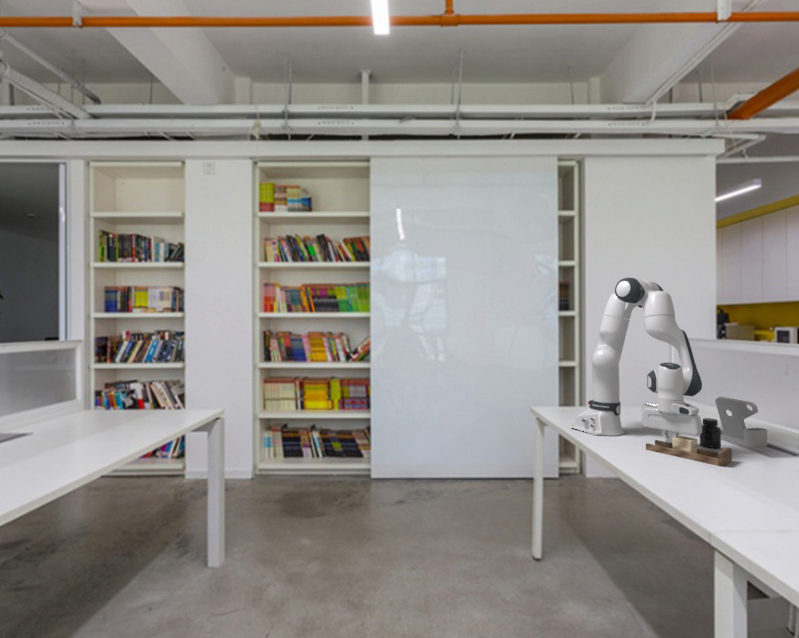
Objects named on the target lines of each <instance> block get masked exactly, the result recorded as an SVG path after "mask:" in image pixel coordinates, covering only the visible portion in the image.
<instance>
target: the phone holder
mask: <svg viewBox="0 0 799 638" xmlns="http://www.w3.org/2000/svg"><path fill="white" fill-rule="evenodd" d="M714 401H715V404H716V408H717V409H716V410H717V412H718V416H719V419H720V424H721V427H722V430H723V433H721V440H722V441H723V440H724V441H727V442H731V443H735V444H738V445H741V444H742V446H745V445H746V447H748V448H749V447H750V448H759V447H758V446H761V447H768V446H767V445H769V444H770V443H768V430H767V429H765V428H763V427H762V428H761V427H752V428H751V427H749V428H747V426H746V423H745V420H746V419H748V418H749V417H752V416H753V415H755V414H757V413H759V409H758V408H759V407H758V406H757V404H755V402H752V401H749V400H743V399H737V398H730V397H726V396H719V397H717V398H716V399H714ZM748 406H750V407H751V409H752V410H751V409H750V408H749V407H748ZM727 411H729V412H730V413H731V415H729V414H728V413H727Z"/></svg>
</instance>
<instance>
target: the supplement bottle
mask: <svg viewBox="0 0 799 638" xmlns="http://www.w3.org/2000/svg"><path fill="white" fill-rule="evenodd" d="M718 425H719V423H718V419H715V418H710V417H709V418H707V417H705V418H702V433H701V434H700V435H699V446H700V447H702V448H704V449H705V448H706V449H709V450H710V449H711V450H721V449H722V444H721V443H722V441H721V440H722V439H721V434H722V432H721V428H720V427H719V426H718Z"/></svg>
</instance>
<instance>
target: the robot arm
mask: <svg viewBox="0 0 799 638" xmlns="http://www.w3.org/2000/svg"><path fill="white" fill-rule="evenodd" d="M636 307H638V308H640V309H641V308H642V309H643V325H644V328H645V329H644V330H645V331H646V333H647V334H648V335H649V336H651V337H652V338H653V339H655V340H658V341H661V342H663V343H666V344H668V345H671V346H672V347H674V348H675V349H676V350H677V352H678V356H679V360H680V364H681V365H680V364H678V363H674V362H661V363H659V364H658V365H657V368H656V369H652V370H651V371H650V372H649V373H648V374H647V375H646V376H647V377H646V379H647V381H646V384H647V385H646V387H647V389H648V390H650V391H651V392H652V393H654V394H657V395H656V403H649V402H646V403H644V404H642V405H641V412H642V413H641V419H640V424H641V426H642V427H644V428H651V429H655V430H656V429H657V430H661V434H662V435H663V437H664V439H665V440H664V442H667V443H672V444H673V438H675V437H677V436H680V435H679V434H683V435H689V436H693V437H698V436H700V434H701V433H702V425H703V422H702V419H701V416H700V415H699V413H700V409H699V408H698V407H697V406H694V405H692V404H690V403H687V402H685V397H686V396H687V397H694V396H696V395H697V394H698V393H700V392H702V391H701V390H702V389H703V381H702V379H701V376H700V375H701V374H700V373H699V371H698V368H697V365H696V362H695V357H694V354H693V350H692V347H691V344H690V339H689V337H688V335H687V333H686V331H685V330H683V329H682V328H680V327H679V325H678V324H677V320H676V313H675V306H674V302H673V299H672V296H671V295H670V293H668V292H667V291H664V289H663V288H662V286H661V285H659V284H657V283H656V282H651V281H649V280H647V279H641V278H640V279H639V278H635V277H624V278H622V279H620V280H619V281H617V283H616V285H615V286H614V293H612V294H610V296H609V299H608V300H607V303H606V305H605V307H604V309H603V310H604V311H603V315H602V318H601V322H600V327H599V330H598V336H597V340H596V347H595V350H594V352H592V354H591V375H592V378H591V379H592V399H591V400H589V401H587V405H589V406H588V407H587V408H586V409H584V410H583V411H581V412H580V413H578V414H577V415H576V418H575V423H572V424H571V425H570V427H571V428H570V429H572V428H574V429H573V430H575V429H577V430H576V431H579V430H580V432H582V431H584V432H583V433H586V432H587V434H590V435H594V436H609V437H610V436H612V437H613V436H621V435H624V431H623V425H622V422H621V410H622V409H621V401H620V362H621V359H622V358H621V356H622V353H623V350H624V349H623V348H624V345H625V340H626V336H627V332H628V330H629V329H628V327H629V324H630V321H631V316H632V312H633V310H634V309H635V308H636ZM684 396H685V397H684ZM669 432H671V435H672V437H670V436H669V434H668V433H669Z"/></svg>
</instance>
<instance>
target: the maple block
mask: <svg viewBox="0 0 799 638" xmlns="http://www.w3.org/2000/svg"><path fill="white" fill-rule="evenodd" d="M697 448H698V438H693V437H689V436H684V435H678V436H677V437H675V438H673V449H676V450H681V451H686V452H691V453H695V454H697Z"/></svg>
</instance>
